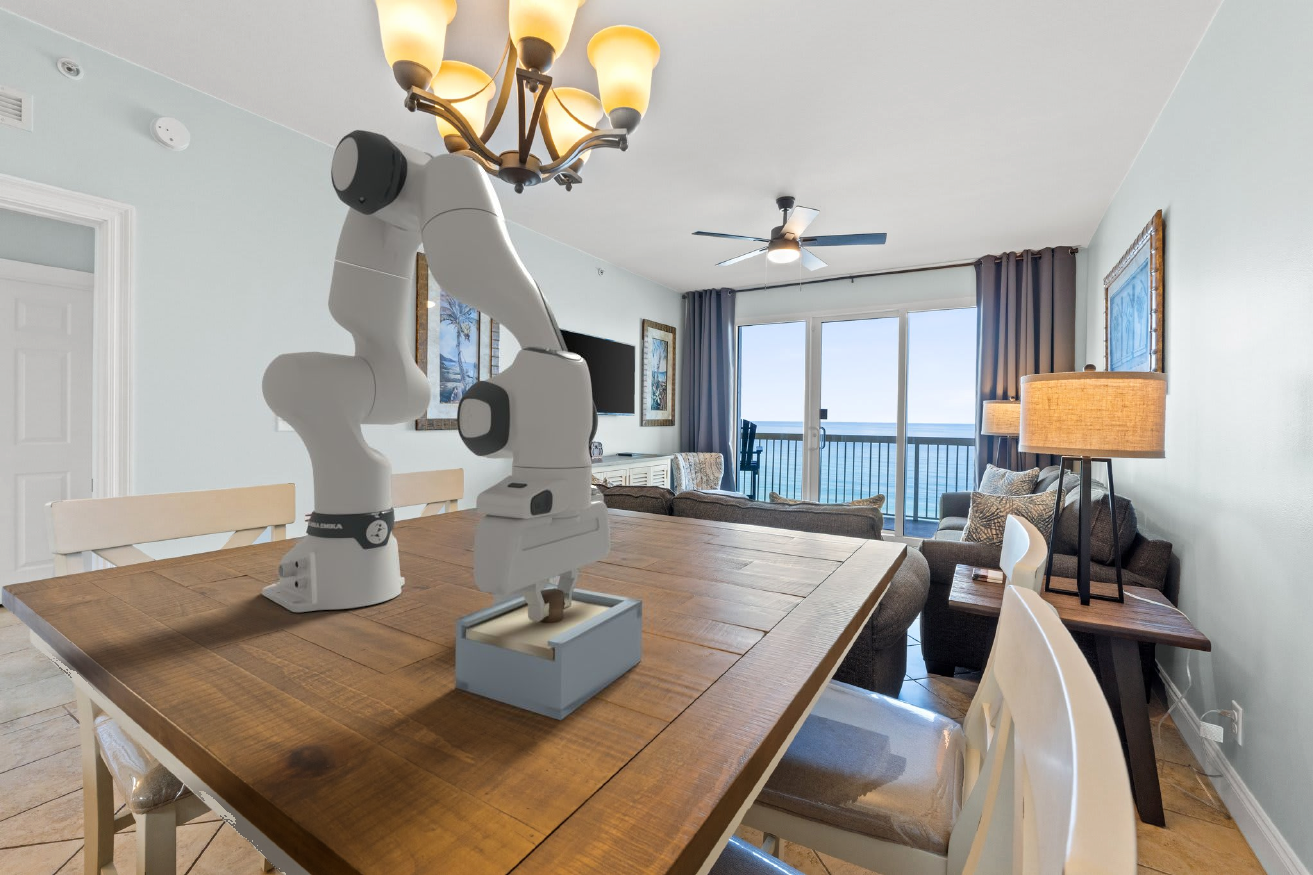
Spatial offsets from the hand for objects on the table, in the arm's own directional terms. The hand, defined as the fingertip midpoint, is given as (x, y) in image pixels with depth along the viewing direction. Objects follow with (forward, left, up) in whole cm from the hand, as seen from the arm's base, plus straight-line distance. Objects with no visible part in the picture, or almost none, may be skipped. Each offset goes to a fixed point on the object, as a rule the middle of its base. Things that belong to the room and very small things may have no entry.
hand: (550, 613), depth 64 cm
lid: (0, 0, -2) cm, 2 cm away
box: (0, +1, -7) cm, 7 cm away
